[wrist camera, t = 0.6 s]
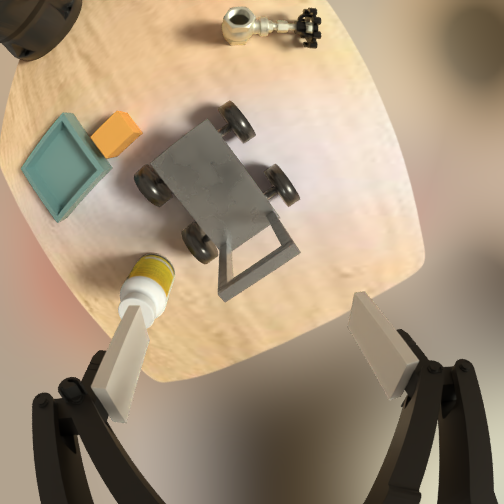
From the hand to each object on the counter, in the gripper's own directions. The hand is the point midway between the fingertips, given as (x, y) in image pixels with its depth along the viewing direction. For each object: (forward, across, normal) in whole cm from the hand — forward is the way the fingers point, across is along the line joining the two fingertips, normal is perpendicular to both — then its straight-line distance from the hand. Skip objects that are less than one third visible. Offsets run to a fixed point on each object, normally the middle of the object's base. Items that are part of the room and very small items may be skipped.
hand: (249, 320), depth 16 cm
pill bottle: (+25, -13, -8) cm, 29 cm away
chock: (+24, -16, +13) cm, 32 cm away
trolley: (+24, -2, +5) cm, 25 cm away
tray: (+24, -26, +10) cm, 36 cm away
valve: (+25, +5, +27) cm, 37 cm away
